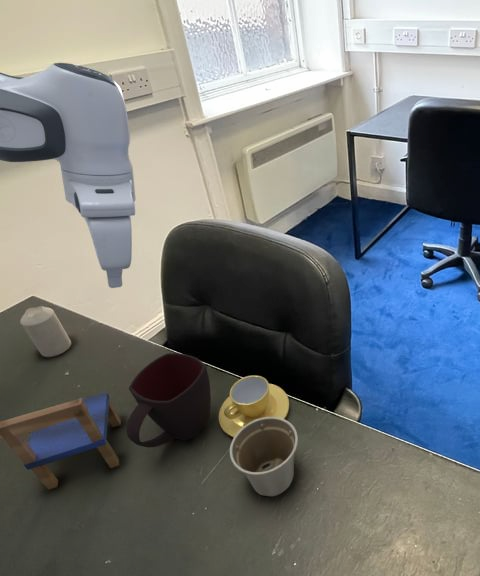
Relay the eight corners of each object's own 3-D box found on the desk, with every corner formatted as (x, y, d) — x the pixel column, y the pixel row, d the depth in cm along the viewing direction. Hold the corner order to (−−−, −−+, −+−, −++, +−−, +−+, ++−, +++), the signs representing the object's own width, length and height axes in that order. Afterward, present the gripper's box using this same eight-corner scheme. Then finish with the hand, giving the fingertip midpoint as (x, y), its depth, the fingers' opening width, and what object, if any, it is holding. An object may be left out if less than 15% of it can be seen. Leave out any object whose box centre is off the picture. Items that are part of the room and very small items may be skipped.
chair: (55, 439, 73) (10, 377, 64) (122, 418, 77) (87, 357, 68) (46, 491, 66) (-7, 429, 57) (120, 466, 69) (80, 403, 60)
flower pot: (269, 441, 72) (260, 407, 67) (316, 465, 69) (310, 431, 64) (228, 489, 66) (214, 456, 61) (278, 519, 62) (268, 486, 57)
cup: (263, 374, 84) (257, 354, 81) (303, 408, 77) (299, 387, 74) (205, 413, 77) (197, 392, 73) (244, 453, 70) (237, 433, 67)
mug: (231, 411, 77) (214, 362, 70) (174, 480, 67) (148, 431, 60) (186, 395, 80) (166, 347, 73) (125, 459, 70) (95, 410, 63)
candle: (34, 353, 90) (9, 315, 84) (59, 336, 94) (37, 299, 88) (52, 360, 88) (28, 322, 82) (77, 342, 92) (56, 305, 87)
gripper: (69, 171, 70) (81, 251, 76) (81, 209, 56) (94, 304, 62) (115, 171, 74) (123, 248, 80) (136, 207, 60) (145, 297, 65)
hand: (111, 273), depth 71 cm, fingers open, 8 cm apart
